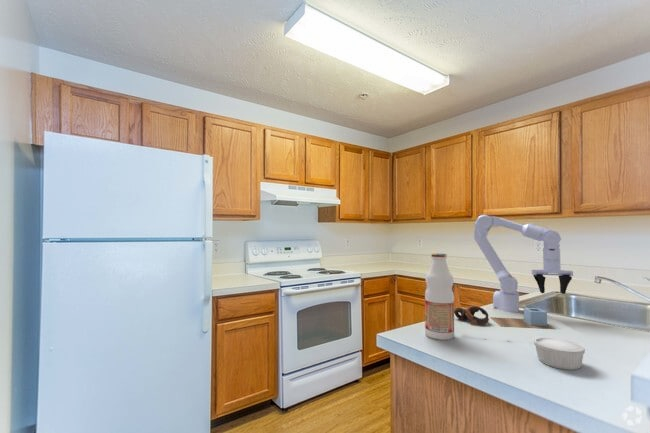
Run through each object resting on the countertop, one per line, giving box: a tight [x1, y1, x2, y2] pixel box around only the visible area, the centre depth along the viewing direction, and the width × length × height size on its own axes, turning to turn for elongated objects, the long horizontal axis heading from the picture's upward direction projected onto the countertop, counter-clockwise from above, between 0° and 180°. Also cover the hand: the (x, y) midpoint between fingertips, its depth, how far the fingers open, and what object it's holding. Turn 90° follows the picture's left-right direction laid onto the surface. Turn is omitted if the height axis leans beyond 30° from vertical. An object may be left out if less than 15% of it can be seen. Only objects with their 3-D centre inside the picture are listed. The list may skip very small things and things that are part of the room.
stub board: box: [489, 316, 556, 330], centre depth 119 cm, size 18×12×5 cm, turn 81°
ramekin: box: [534, 337, 586, 371], centre depth 88 cm, size 11×11×5 cm
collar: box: [523, 307, 548, 326], centre depth 118 cm, size 5×5×5 cm
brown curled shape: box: [454, 305, 490, 327], centre depth 121 cm, size 12×10×8 cm
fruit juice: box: [424, 252, 455, 341], centre depth 109 cm, size 9×9×28 cm
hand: (552, 293), depth 130 cm, fingers open, 7 cm apart
